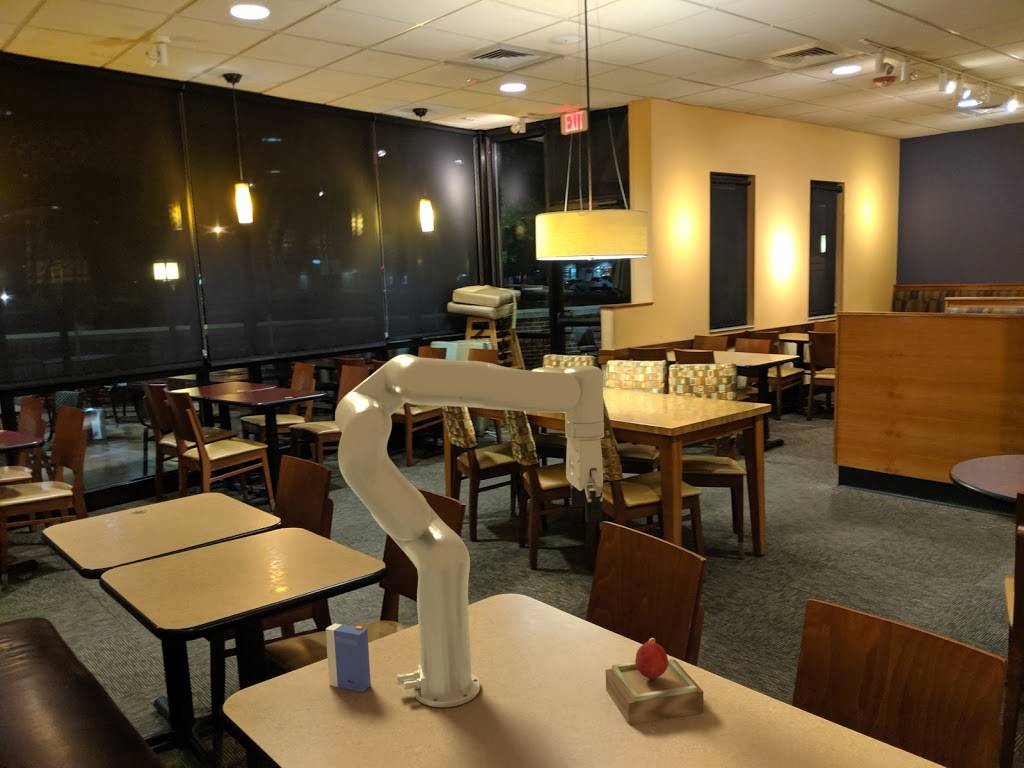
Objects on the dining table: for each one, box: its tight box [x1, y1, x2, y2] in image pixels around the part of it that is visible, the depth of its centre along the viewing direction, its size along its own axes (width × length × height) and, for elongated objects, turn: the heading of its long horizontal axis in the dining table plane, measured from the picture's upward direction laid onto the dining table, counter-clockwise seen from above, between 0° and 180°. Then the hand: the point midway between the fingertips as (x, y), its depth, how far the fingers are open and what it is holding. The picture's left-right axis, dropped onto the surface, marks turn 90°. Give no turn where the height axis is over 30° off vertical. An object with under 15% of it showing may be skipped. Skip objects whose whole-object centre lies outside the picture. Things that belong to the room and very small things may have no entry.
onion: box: [634, 637, 668, 680], centre depth 143 cm, size 6×6×8 cm
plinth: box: [605, 656, 704, 726], centre depth 144 cm, size 14×12×5 cm
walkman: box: [325, 623, 372, 693], centre depth 152 cm, size 8×3×12 cm, turn 66°
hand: (586, 513), depth 157 cm, fingers open, 9 cm apart
